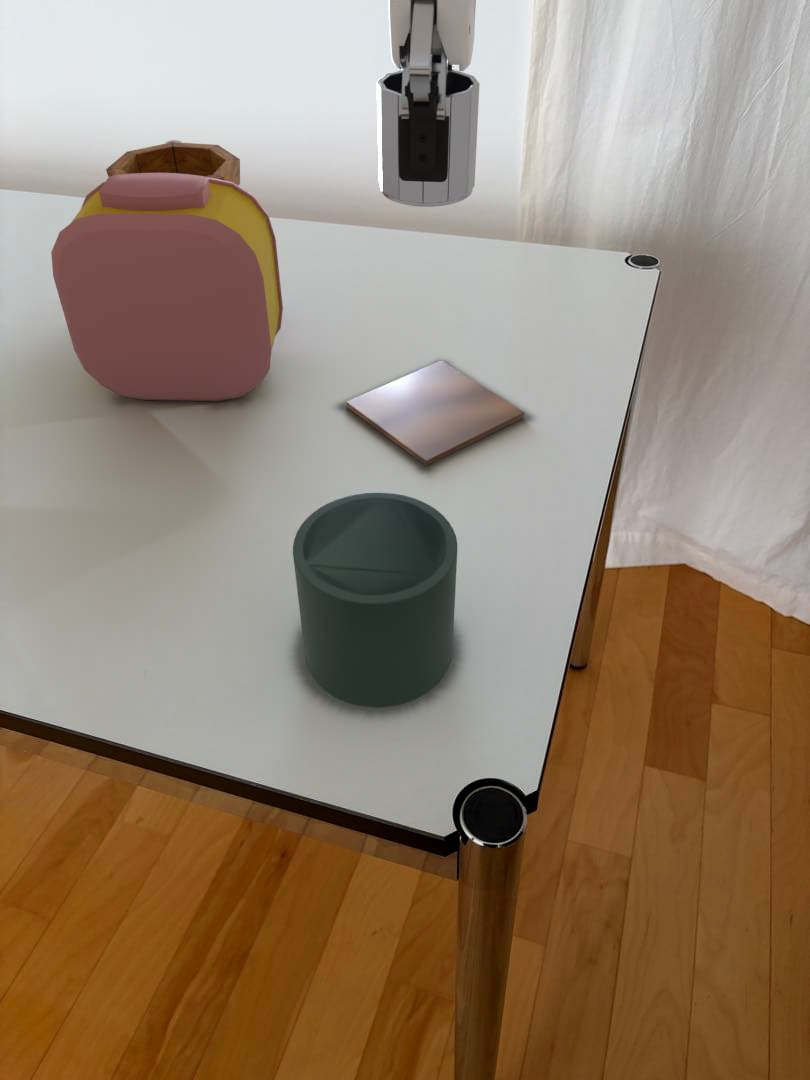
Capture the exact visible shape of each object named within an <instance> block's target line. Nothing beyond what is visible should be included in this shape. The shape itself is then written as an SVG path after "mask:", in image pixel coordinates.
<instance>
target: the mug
mask: <svg viewBox="0 0 810 1080" xmlns="http://www.w3.org/2000/svg"><path fill="white" fill-rule="evenodd" d="M105 172H106V174H107V178H108V177H109V176H113V175H123V174H136V173H178V174H191V175H198V176H205V177H206V178H214V179H219V180H224V181H229V182H233V183H235V184H236V185H238V186H239V187H241V159H240V158H239V157H238V156H236V155H235V154H233V153H231V152H229V150H227V149H225V148H223V147H222V146H221V145H219V144H212V143H211V144H210V143H195V142H194V143H193V142H183V141H181V140H177V139H171V140H168V141H166V142H165V143H162V144H157V145H152V146H148V147H143V148H139V149H132V150H127V151H126V152H124V153H123V154H122V155H121V156H119V157H118V158H117V159H116V160H115V161H114V162H113V163H112V164H111V165H109V166H108V167H107V168H106V169H105Z"/></svg>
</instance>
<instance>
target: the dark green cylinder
mask: <svg viewBox="0 0 810 1080" xmlns="http://www.w3.org/2000/svg"><path fill="white" fill-rule="evenodd" d="M292 558H293V565H294V574H295V583H296V592H297V599H298V600H297V601H298V609H299V617H300V626H301V633H302V641H303V650H304V651H303V652H304V658H305V662H306V666H307V669H308V671H309V673H310V675H311V676H312V678H313V679H314V681H315V682H316V683H317V684H318V685H319V686H320V687H321V688H322V689H323V690H324V691H325V692H327V693H328V694H330V695H331V696H333V697H335V698H337V699H338V700H341V701H343V702H346V703H349V704H352V705H355V706H359V707H361V706H362V707H368V708H383V707H384V708H385V707H393V706H399V705H402V704H405V703H406V704H407V703H409V702H411V701H414V700H415V699H418V698H420V697H421V696H424V695H425V694H427V693H428V692H430V691H431V690H432V689H433V688H434V687H436V686H437V685H438V684H439V682H440V681H441V680H442V679H443V677H444V676H445V675H446V673H447V671H448V670H449V668H450V665H451V662H452V658H453V649H454V648H453V647H454V627H455V625H454V624H455V609H456V608H455V607H456V605H455V604H456V589H457V588H456V586H457V567H458V566H457V565H458V539H457V535H456V533H455V530H454V528H453V526H452V525H451V523H450V521H449V520H448V519H447V517H445V516H444V515H443V514H442V513H441V512H440V511H439V510H437V508H435V507H433V506H432V505H430V504H428V503H426V502H425V501H423V500H420V499H417V498H415V497H411V496H408V495H404V494H399V493H394V492H386V491H385V492H383V491H381V492H380V491H371V492H362V493H355V494H351V495H346V496H343V497H339V498H337V499H334V500H332V501H330V502H327V503H326V504H324V505H322V506H320V507H319V508H317V509H316V510H314V511H313V512H312V513H311V514H310V515H309V516H307V517H306V519H305V520H304V521H303V522H302V523H301V525H300V526H299V527H298V530H297V531H296V534H295V536H294V539H293V544H292Z"/></svg>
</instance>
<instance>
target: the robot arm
mask: <svg viewBox="0 0 810 1080" xmlns="http://www.w3.org/2000/svg"><path fill="white" fill-rule="evenodd" d="M476 6H477V0H388V21H389V22H388V23H389V42H390V56H391V57H390V58H391V62H392V64H393V65H394V66H395V67H396V68H397V69H399V70H403V71H402V99H401V115H399V177H400V179H401V180H403V181H420V182H444V181H445V180H446V179H447V175H448V149H449V116H445V110H446V89H447V74H448V69H449V70H454V66H458V71H460V72H464V71H465V70H467V68H469V66H470V65H471V63H472V57H473V51H474V44H475V31H476V30H475V29H476V27H475V26H476V10H477V9H476V8H477V7H476ZM432 77H438V86H437V84H436V81H431V79H432Z"/></svg>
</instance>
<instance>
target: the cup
mask: <svg viewBox="0 0 810 1080" xmlns="http://www.w3.org/2000/svg"><path fill="white" fill-rule="evenodd" d="M402 71H403V70H402V69H399V70H397V71H392V72H388V73H385V74H384V75H383V76H382V77H380V78H379V79H378V80H377V81H376V101H377V102H376V104H377V107H376V109H377V147H378V149H377V150H378V151H377V152H378V153H377V154H378V156H377V157H378V184H379V189H380V192H381V194H382V195H383V196H384V197H385V198H386V199H388V200H390V201H392V202H394V203H398V204H401V205H407V206H411V207H423V208H424V207H425V208H426V207H427V208H428V207H429V208H430V207H431V208H433V207H441V206H442V207H443V206H448V205H453V204H457V203H460V202H462V201H464V200H466V199H467V198H469V197H470V196H471V195H472V193H473V191H474V188H475V185H476V183H475V182H476V164H477V162H476V161H477V146H478V145H477V143H478V124H479V123H478V121H479V105H480V104H479V102H480V84H481V83H480V82H479V81H478V80H477V78H476V77H475V76H474V75H473V74H469V73H466V72H464V71H459V70H456V69H453V70H449V69H448V74H447V89H446V110H445V116H449V149H448V175H447V179H446V180H445V181H444V182H420V181H403V180H401V179H400V177H399V115H401V99H402ZM431 81H436V84H437V86H438V77H432V79H431Z"/></svg>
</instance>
